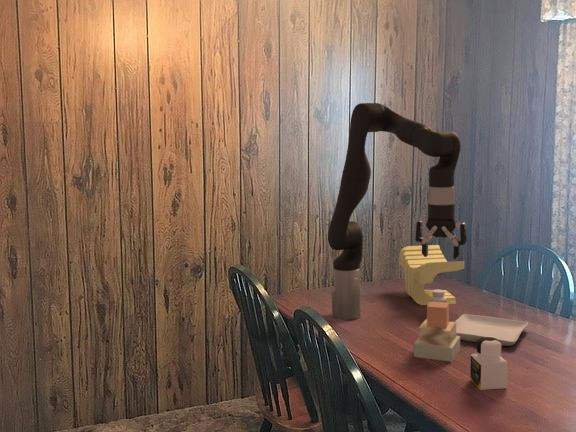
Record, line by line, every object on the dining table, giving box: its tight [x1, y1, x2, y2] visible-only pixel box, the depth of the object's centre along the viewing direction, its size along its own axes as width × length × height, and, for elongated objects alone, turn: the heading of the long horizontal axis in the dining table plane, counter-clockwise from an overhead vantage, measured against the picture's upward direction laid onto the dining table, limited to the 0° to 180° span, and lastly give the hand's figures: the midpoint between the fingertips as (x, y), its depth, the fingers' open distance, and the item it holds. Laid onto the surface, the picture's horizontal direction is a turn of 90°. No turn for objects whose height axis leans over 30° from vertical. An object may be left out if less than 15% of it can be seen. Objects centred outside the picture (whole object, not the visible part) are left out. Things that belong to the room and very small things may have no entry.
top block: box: [418, 318, 456, 347], centre depth 193 cm, size 9×9×4 cm
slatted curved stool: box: [398, 244, 465, 306], centre depth 248 cm, size 30×16×18 cm, turn 4°
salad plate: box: [454, 313, 529, 347], centre depth 208 cm, size 21×21×3 cm
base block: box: [413, 336, 461, 362], centre depth 194 cm, size 11×11×4 cm
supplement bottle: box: [430, 288, 447, 303], centre depth 226 cm, size 5×5×10 cm
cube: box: [426, 302, 450, 328], centre depth 192 cm, size 6×6×6 cm
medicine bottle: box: [470, 337, 509, 391], centre depth 170 cm, size 7×7×12 cm
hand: (440, 257), depth 192 cm, fingers open, 8 cm apart
